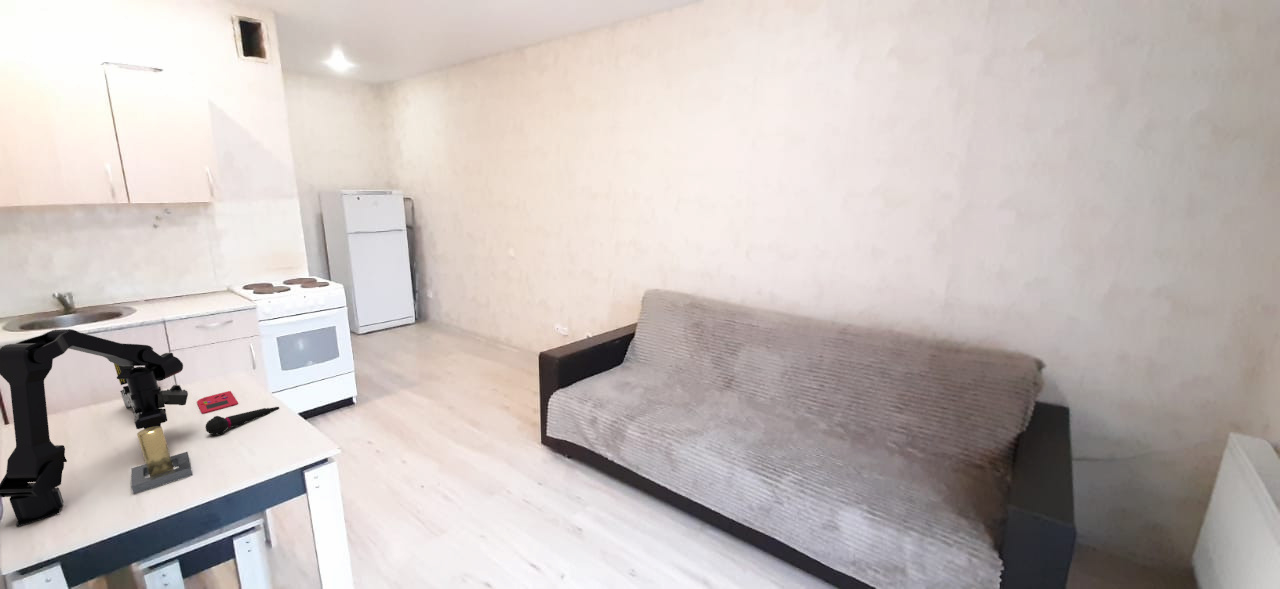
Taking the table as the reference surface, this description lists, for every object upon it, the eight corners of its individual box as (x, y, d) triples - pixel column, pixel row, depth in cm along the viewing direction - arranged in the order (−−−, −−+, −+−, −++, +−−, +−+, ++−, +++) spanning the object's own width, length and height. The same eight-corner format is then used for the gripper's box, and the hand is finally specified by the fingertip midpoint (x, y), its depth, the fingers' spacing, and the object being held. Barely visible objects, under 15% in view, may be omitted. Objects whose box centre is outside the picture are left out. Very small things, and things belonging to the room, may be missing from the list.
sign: (129, 418, 169) (109, 362, 168) (142, 414, 172) (123, 359, 171) (140, 417, 156) (118, 355, 155) (154, 413, 158) (133, 352, 157)
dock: (133, 494, 123) (131, 486, 122) (133, 475, 131) (131, 468, 130) (192, 475, 130) (190, 467, 130) (189, 458, 138) (187, 451, 137)
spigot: (150, 483, 127) (137, 437, 124) (150, 475, 130) (137, 430, 127) (175, 475, 130) (162, 430, 127) (174, 468, 134) (161, 424, 130)
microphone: (276, 417, 168) (204, 439, 150) (271, 400, 168) (199, 420, 150) (285, 414, 165) (214, 437, 147) (281, 398, 165) (209, 418, 147)
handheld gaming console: (230, 389, 180) (238, 402, 170) (231, 393, 180) (239, 406, 170) (195, 398, 173) (201, 412, 163) (196, 402, 174) (202, 416, 164)
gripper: (184, 388, 140) (197, 438, 144) (179, 370, 153) (192, 417, 157) (128, 401, 133) (143, 454, 137) (128, 381, 146) (142, 430, 150)
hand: (158, 437), depth 145 cm, fingers closed
